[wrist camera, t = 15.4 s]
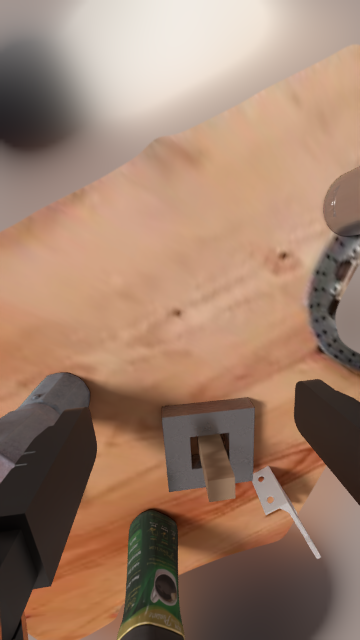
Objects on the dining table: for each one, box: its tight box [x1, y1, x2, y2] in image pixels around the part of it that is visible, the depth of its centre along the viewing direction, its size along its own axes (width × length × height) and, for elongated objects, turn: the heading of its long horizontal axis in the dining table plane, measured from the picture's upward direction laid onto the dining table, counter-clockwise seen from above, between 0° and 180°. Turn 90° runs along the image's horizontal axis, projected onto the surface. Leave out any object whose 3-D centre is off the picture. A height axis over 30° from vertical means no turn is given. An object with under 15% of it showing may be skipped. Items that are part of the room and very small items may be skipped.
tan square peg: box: [197, 434, 235, 502], centre depth 37 cm, size 4×4×10 cm
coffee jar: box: [117, 510, 185, 640], centre depth 37 cm, size 10×8×19 cm
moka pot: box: [0, 373, 90, 483], centre depth 27 cm, size 10×15×20 cm, turn 27°
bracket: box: [252, 466, 321, 559], centre depth 41 cm, size 11×4×10 cm, turn 31°
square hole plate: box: [162, 397, 255, 492], centre depth 40 cm, size 16×16×3 cm
